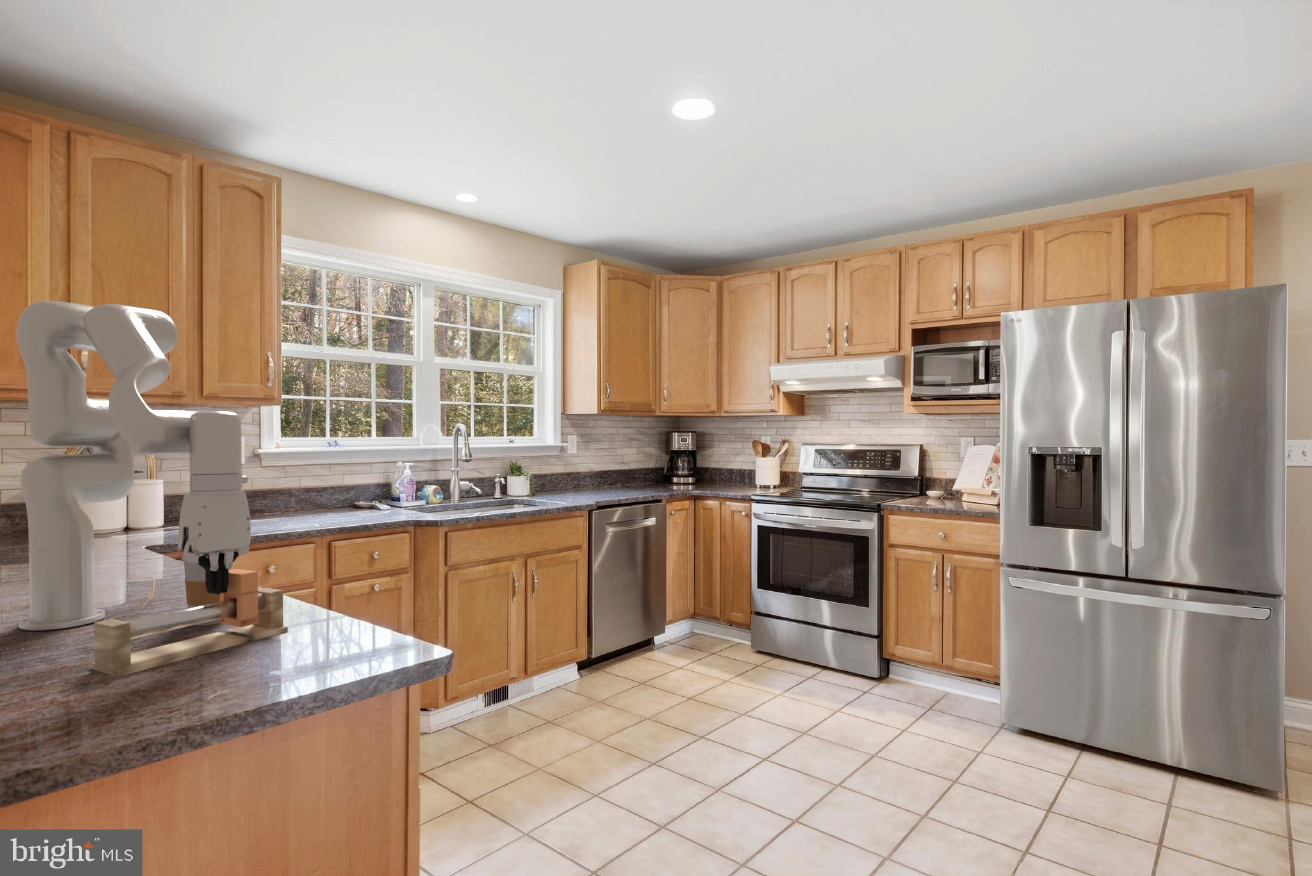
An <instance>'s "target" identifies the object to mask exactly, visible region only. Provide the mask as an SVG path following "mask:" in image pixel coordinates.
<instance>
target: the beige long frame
mask: <svg viewBox="0 0 1312 876" xmlns="http://www.w3.org/2000/svg"><path fill="white" fill-rule="evenodd" d="M259 593H262V594H264V595H265V597H266V600H267V604H266V607H265V608H264V609H260V610H258V623H257V624H253V625H249V626H245V627H237V626H235V627H234V628H229V629H223V630H219V631H217V632H212V633H208V634H203V635H201V636H196V637H193V638H189V639H184V640H179V641H175V642H172V643H168V644H164V645H160V646H155V647H152V648H148V649H144V650H141V651H137V652H136V651H135V652H131V649H132V648H131V640H132V639H131V638H130V622H126V621H124V620H119V619H115V618H110V619H106V620H98V621H96V622H93V626H94V628H93V629H94V630H93V631H94V633H93V634H94V662H90V669H91V670H94V671H95V672H100V673H103V674H107V675H110V676H117V677H122V676H128V675H130V674H135V673H137V672H143V671H145V670H150V669H153V668H157V667H161V666H164V665H168V664H171V663H175V662H179V661H183V660H187V659H190V658H194V657H199V656H201V655H205V654H208V653H209V654H210V653H213V652H217V651H220V650H223V649H227V648H231V647H235V646H239V645H243V644H245V643H246V644H247V643H250V642H253V641H256V640H261V639H265V638H269V637H272V636H276V635H279V634H283V633H284V634H285V633H287V632H289V628H288V626H284V589H283V590H282V589H279V588H278V589H276V588H270V587H263V588H258V594H259Z"/></svg>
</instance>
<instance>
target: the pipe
mask: <svg viewBox="0 0 1312 876" xmlns="http://www.w3.org/2000/svg"><path fill="white" fill-rule="evenodd" d="M266 604H267V600H266V597H265V595H264V594H262V593H259V594H258V610H260V609H264V608H265V607H266ZM230 616H232V617H235V616H237V597H235V598H231V599H229V600H226V601H221V602H217V603H212V604H207V605H202V606H197V607H193V608H188V607H187V608H183V609H178V610H175V611H169V612H165V613H160V614H156V615H151V616H146V617H140V618H136V619H132V620H126V621H125V622H130V638H131V640H133V639H138V638H141V637H146V636H151V635H155V634H161V633H164V632H168V631H172V630H177V629H182V628H186V627H190V626H196V625H195V624H199V623H204V622H208V621H212V620H217V619H221V618H225V617H230Z"/></svg>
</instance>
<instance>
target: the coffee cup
mask: <svg viewBox="0 0 1312 876" xmlns="http://www.w3.org/2000/svg"><path fill="white" fill-rule="evenodd" d="M196 555H199V554H196ZM216 555H217V552H216ZM182 557H183V554H182V556H181V558H182ZM183 565H184V576H185V577H184V584H185V596H186V605H187V609H188V608H193V607H197V606H202V605H207V604H212V603H217V602H220V594H211V593H208V592H207V589H206V583H205V570H203V569H202V567H201V566H200V565H199V564H197V563H193V562H184V561H183ZM232 569H233V566H232V567H231V568H230V569H229V570H232ZM217 624H221V623H220V619H217V620H212V621H208V622H204V623H199V624H195V625H194V626H208V625H209V626H210V625H217Z"/></svg>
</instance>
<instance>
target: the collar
mask: <svg viewBox="0 0 1312 876" xmlns="http://www.w3.org/2000/svg"><path fill="white" fill-rule="evenodd" d="M258 574H259V573H258V570H257V571H256V570H249V569H242V568H241V569H239V568H234V569H233V568H232V570H229V585H228V591H227V593H221V594H220V602H221V601H226V600H229V599H231V598H235V597H237V616H235V617H232V616H230V617H225V618H221V619H220V623H219V624H221V625H227V626H231V627H245V626H249V625H253V624H257V623H258V589H259V585H258V584H259V581H258V580H259V579H258Z"/></svg>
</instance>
